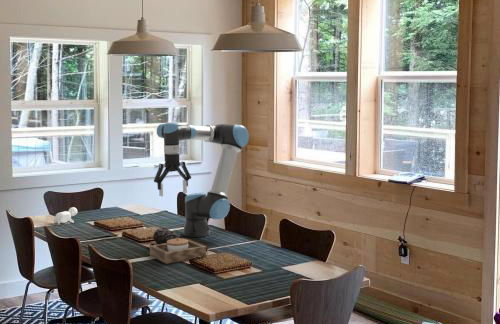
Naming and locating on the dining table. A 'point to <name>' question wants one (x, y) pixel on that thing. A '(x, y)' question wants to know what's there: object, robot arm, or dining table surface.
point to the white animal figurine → (65, 216)
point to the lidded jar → (177, 244)
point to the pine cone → (163, 235)
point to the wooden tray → (177, 252)
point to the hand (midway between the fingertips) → (173, 194)
